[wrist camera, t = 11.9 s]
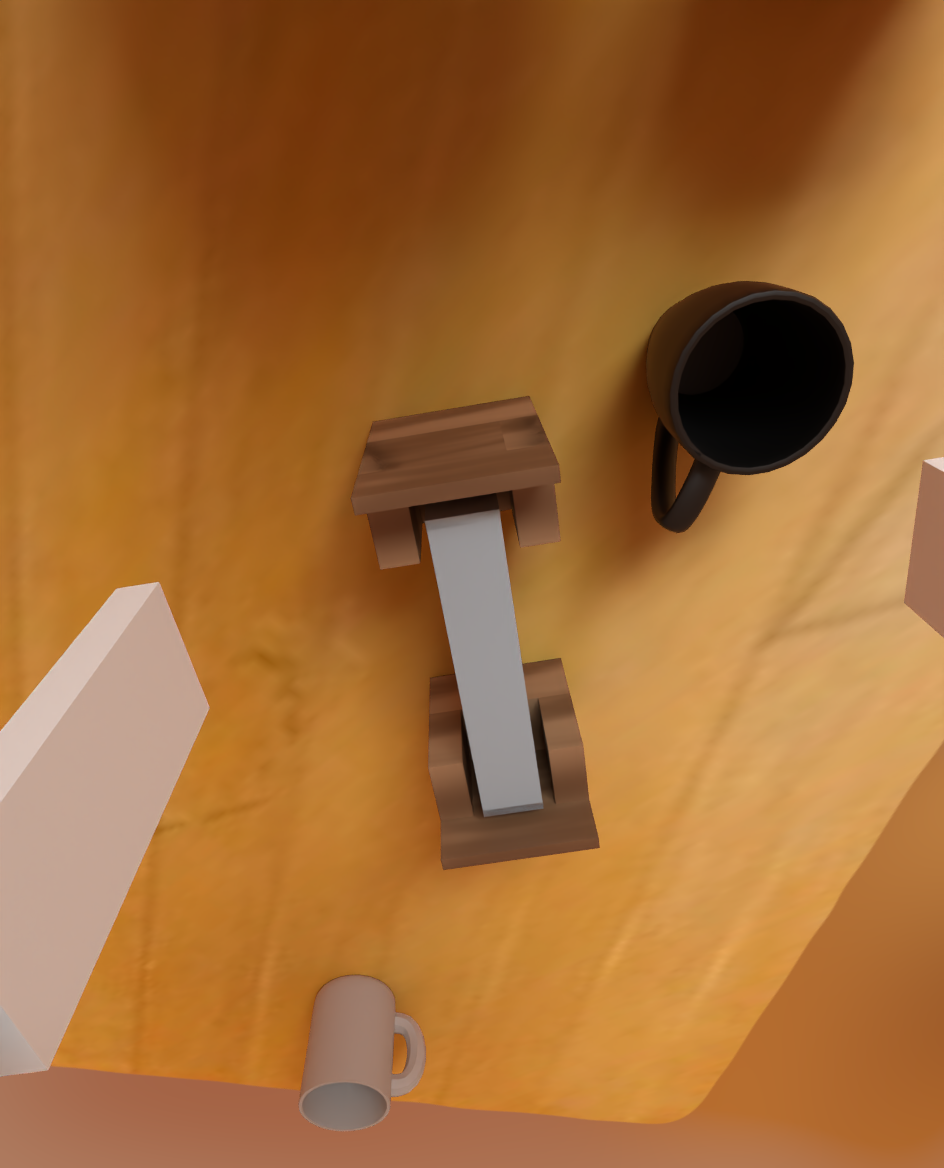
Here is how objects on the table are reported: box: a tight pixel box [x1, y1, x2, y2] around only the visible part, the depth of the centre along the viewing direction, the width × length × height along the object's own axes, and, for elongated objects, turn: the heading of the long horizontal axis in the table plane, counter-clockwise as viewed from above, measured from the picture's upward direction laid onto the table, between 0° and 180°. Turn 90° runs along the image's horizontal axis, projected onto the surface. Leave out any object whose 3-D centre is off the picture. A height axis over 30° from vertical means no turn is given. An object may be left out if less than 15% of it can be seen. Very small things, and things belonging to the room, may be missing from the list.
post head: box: [351, 396, 561, 570], centre depth 38 cm, size 5×9×12 cm, turn 99°
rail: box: [425, 493, 544, 817], centre depth 42 cm, size 19×4×6 cm, turn 9°
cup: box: [299, 975, 426, 1131], centre depth 63 cm, size 7×10×9 cm
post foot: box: [428, 658, 600, 870], centre depth 47 cm, size 5×9×12 cm, turn 99°
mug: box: [646, 281, 854, 533], centre depth 38 cm, size 8×12×10 cm
